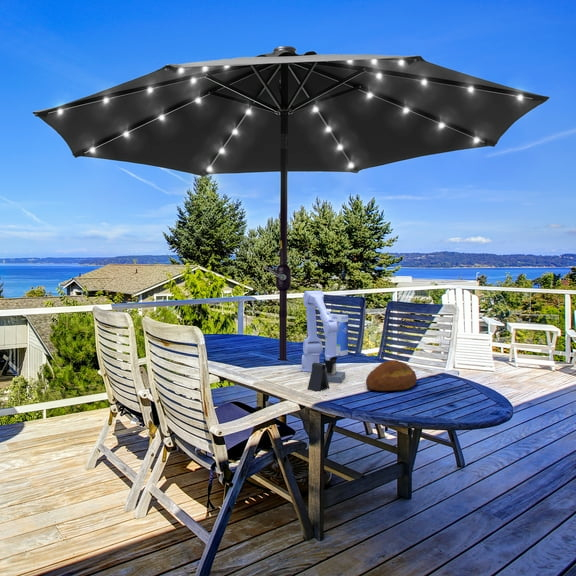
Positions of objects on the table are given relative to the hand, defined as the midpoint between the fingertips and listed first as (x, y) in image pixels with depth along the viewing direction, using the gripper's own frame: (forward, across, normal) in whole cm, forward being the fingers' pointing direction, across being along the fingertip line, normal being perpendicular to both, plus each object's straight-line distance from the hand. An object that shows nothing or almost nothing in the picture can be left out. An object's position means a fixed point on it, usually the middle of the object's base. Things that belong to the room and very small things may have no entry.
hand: (330, 371), depth 237 cm
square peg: (+2, 0, 0) cm, 2 cm away
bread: (+4, -2, -31) cm, 31 cm away
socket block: (+4, 0, 0) cm, 4 cm away
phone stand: (+4, -19, +2) cm, 20 cm away
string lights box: (+4, +67, +10) cm, 68 cm away
